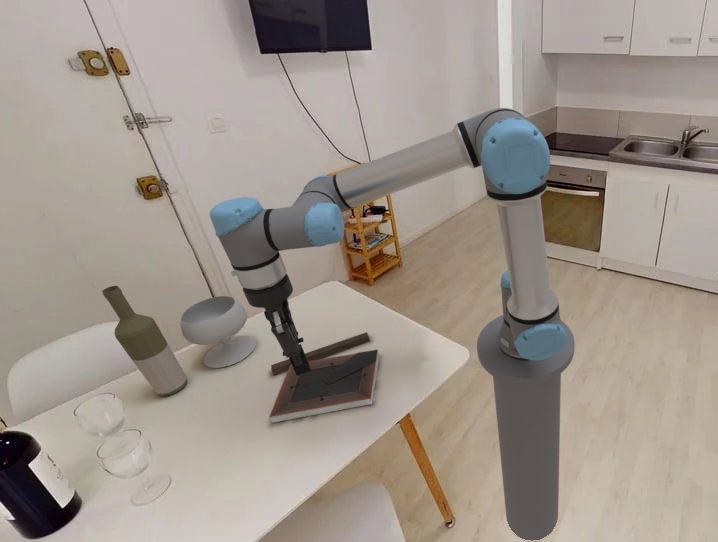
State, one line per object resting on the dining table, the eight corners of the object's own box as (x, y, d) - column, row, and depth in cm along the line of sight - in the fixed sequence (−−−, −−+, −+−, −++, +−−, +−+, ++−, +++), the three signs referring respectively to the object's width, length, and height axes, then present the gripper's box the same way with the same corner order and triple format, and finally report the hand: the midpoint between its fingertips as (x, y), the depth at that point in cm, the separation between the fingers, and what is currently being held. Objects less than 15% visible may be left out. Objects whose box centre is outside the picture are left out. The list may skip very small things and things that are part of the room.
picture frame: (379, 356, 110) (293, 370, 106) (377, 349, 108) (290, 363, 105) (372, 405, 95) (272, 423, 92) (370, 398, 94) (269, 416, 90)
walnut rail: (368, 337, 116) (367, 331, 115) (370, 341, 115) (368, 335, 114) (273, 370, 106) (271, 365, 105) (273, 375, 104) (271, 369, 103)
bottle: (195, 384, 103) (136, 285, 88) (162, 403, 98) (93, 302, 83) (183, 372, 106) (125, 276, 91) (151, 391, 101) (83, 292, 86)
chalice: (201, 348, 114) (177, 305, 107) (258, 329, 121) (239, 287, 113) (199, 379, 104) (172, 334, 96) (261, 357, 110) (241, 313, 103)
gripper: (242, 270, 79) (282, 359, 91) (240, 304, 69) (285, 399, 81) (285, 259, 82) (319, 346, 94) (289, 290, 72) (326, 384, 84)
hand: (303, 371), depth 87 cm, fingers closed
